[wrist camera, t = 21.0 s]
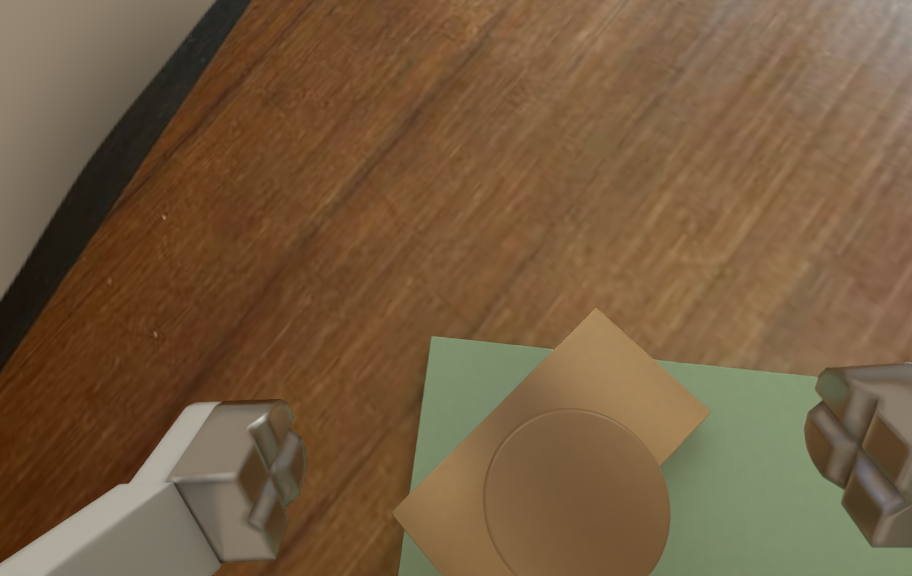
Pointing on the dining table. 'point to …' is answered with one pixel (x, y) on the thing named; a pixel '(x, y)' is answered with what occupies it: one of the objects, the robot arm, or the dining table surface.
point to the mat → (686, 467)
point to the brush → (561, 468)
